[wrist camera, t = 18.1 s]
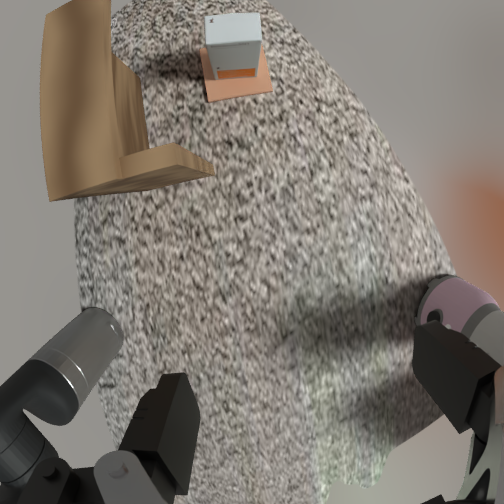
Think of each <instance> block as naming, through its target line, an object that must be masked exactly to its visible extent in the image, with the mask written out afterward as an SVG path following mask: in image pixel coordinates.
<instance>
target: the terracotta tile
mask: <svg viewBox="0 0 504 504" xmlns="http://www.w3.org/2000/svg"><path fill="white" fill-rule="evenodd" d="M199 50H200V56H201V62H202V68H203V74H204V79H205V85H206V91H207V97H208V102H209V103H211V102H216V101H221V100H226V99H231V98H237V97H242V96H248V95H255V94H261V93H269V92H273V89H272V84H271V80H270V75H269V71H268V67H267V62H266V58H265V54H264V50H263V46H262V44H261V52H260V58H259V66H258V74H257V77H246V78H230V79H220V80H215V77H214V74H213V70H212V67H211V63H210V60H209V56H208V53H207V49H206V48H202V49H199Z"/></svg>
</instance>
